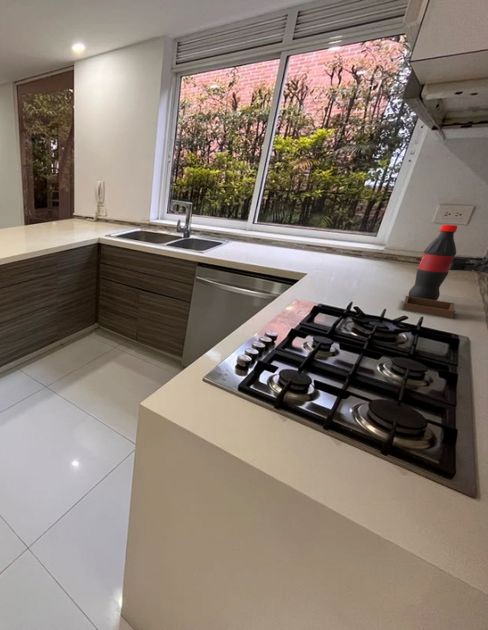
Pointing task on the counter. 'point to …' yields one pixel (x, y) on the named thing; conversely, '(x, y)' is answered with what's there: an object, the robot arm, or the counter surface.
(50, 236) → the counter surface
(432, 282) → the cola bottle
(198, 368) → the counter surface
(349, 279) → the counter surface
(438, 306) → the bottle tray
